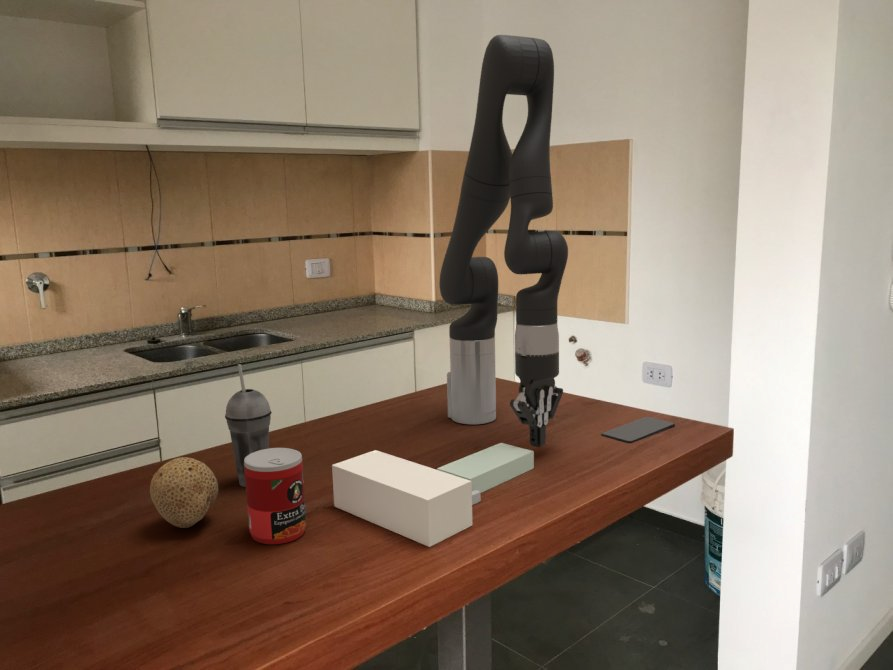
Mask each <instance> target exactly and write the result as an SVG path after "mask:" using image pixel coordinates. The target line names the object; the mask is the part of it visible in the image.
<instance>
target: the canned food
mask: <svg viewBox="0 0 893 670" xmlns="http://www.w3.org/2000/svg"><path fill="white" fill-rule="evenodd" d="M244 470H245V484H246V487H245V496H246V505H247V517H248V518H247V519H248V530H249V531H248V532H249V533H250V536H251V538H252V539H253V541H255V542H257V543H260V544H264V545H281V544H286V543H290V542H293V541H296V540H297V539H299V538H301V537H302V536H303V535H304V533H305V531H306V527H307V513H306V499H305V497H306V496H305V495H306V494H305V481H304V465H303V455H302V453H301V452H300V451H299V450H296V449H293V448H289V447H269V449H263V450H259V451H256V452H253V453H251V454H249V455H248V456H246V457H245V459H244Z"/></svg>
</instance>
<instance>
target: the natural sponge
mask: <svg viewBox="0 0 893 670" xmlns="http://www.w3.org/2000/svg"><path fill="white" fill-rule="evenodd" d="M149 494H150V499H151V501H152V503H153V505H154V506H155V509H156V511H157V512H158V514H160V516H161V517H162V518H163V519H164V520H165V521H166V522H168V523H169V524H170V525H172V526H174V527H177V528H180V529H189V528H191V527H193V526H195V525H196V524H197V523H199V521H201V520H203V518H204V517H205V516H206V515H207V513H208V511H209V509H210V507H211V506H212V505H213V504H214V503H215V502H216V500H217V498H218V495H219V483H218V479H217V478H216V476H215V474H214V472H213V470H211V469H210V467H209V466H207V464H206V463H204V462H202V461H200V460H198V459H196V458H194V457H193V458H192V457H188V456H187V457H185V456H184V457H183V456H182V457H176V458H173V459H171V460H169V461H167V462H166V463H164V464H163V465H162V466H161V467H160V468H158V470H157V471H156V472H155V473H154V474H153V475H152V479H151V480H150V485H149Z"/></svg>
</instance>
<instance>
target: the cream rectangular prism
mask: <svg viewBox="0 0 893 670" xmlns="http://www.w3.org/2000/svg"><path fill="white" fill-rule="evenodd" d="M331 469H332V471H331V473H332V487H333V488H332V490H333V504H334V505H333V507H334V508H337V509H340V510H342V511H344V512H347V513H349V514H352V515H353V516H355V517H359V518H360V519H363V520H365V521H368V522H370V523H372V524H375V525H377V526H379V527H382V528H384V529H387V531H392V532H393V533H396V534H397V535H398V534H399V535H401V536H403V537H406V538H407V539H410V540H413V541H415V542H417V543H418V544H421V545H424V546H425V547H428V548H431V547H433V546H434V545H436V544H437V545H438V544H439V543H441V542H442V541H444V540H446V539H448V538H450V537H452V536H454V535H456V534H458V533H460V532H461V531H462V532H463V531H464V530H466V529H468V528H470V527H471V526H473V505H476V504H478V503H479V502H481V495H482V494H481V492H480V491H477V490H475V491H472V481H470V480H467V479H464V478H461V477H457V476H454V475H451V474H448V473H445V472H442V471H439V470H437V468H436V469H435V468H432V467H430V466H426V465H423V464H420V463H417V462H415V461H410V460H407V459H404V458H402V457H398V456H396V455H392V454H389V453H386V452H383V451H380V450H376V449H374V450H373V451H368V452H366V453H363V454H360V455H357V456H354V457H351V458H348V459H346V460H343V461H340V462H337V463H333V464H331Z"/></svg>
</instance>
